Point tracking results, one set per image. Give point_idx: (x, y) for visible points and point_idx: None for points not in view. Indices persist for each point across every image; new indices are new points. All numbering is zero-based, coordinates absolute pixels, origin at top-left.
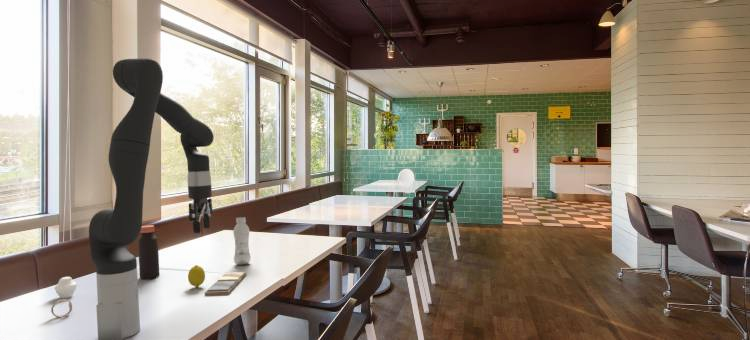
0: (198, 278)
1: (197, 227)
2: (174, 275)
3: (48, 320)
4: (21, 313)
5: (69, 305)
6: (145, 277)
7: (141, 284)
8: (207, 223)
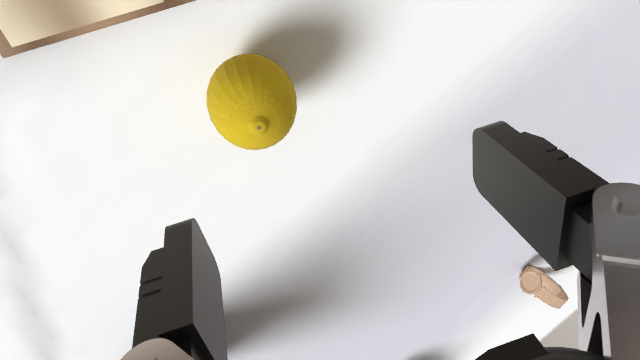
0: (279, 66)
1: (566, 157)
2: (123, 293)
3: (550, 275)
4: None
5: (533, 285)
6: None
7: (262, 309)
8: (202, 273)
